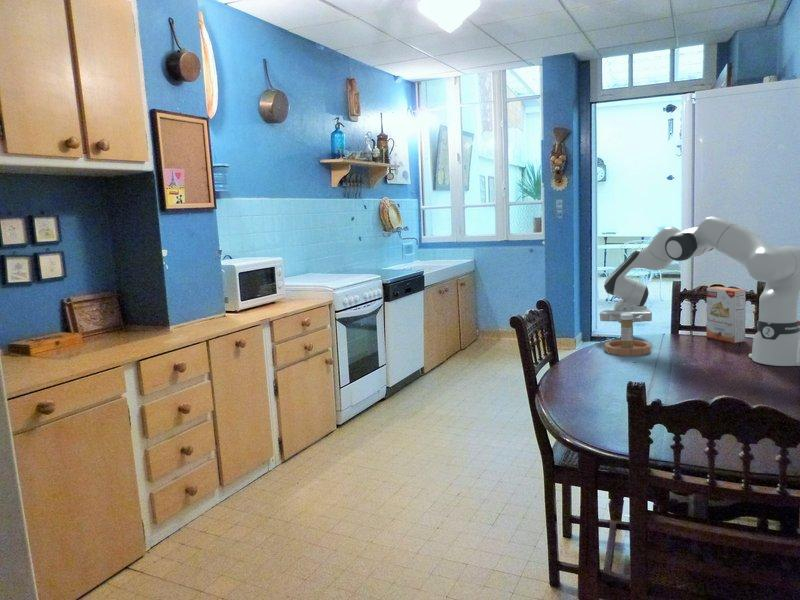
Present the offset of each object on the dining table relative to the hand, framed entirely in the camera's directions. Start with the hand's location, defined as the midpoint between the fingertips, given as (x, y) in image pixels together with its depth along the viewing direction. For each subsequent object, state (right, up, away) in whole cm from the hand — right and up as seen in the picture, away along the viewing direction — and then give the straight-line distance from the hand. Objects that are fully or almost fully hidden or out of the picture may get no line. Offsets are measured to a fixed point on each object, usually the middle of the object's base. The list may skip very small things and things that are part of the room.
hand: (626, 319), depth 242 cm
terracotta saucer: (-3, -12, -9) cm, 15 cm away
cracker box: (+39, -8, -2) cm, 40 cm away
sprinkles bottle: (-3, -11, -9) cm, 15 cm away
